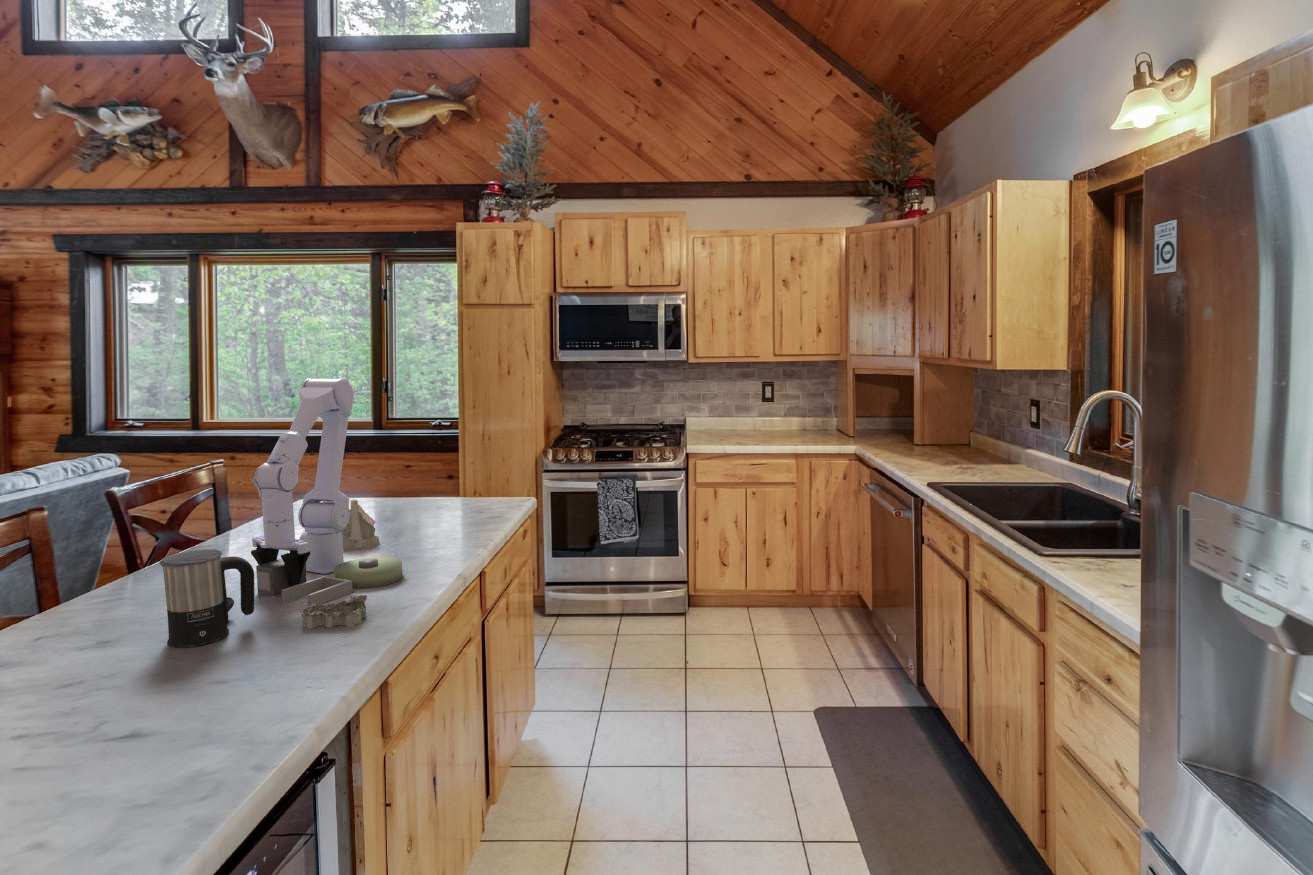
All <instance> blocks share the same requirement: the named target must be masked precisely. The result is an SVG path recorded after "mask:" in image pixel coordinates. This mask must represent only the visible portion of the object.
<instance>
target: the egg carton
mask: <svg viewBox="0 0 1313 875" xmlns="http://www.w3.org/2000/svg"><path fill="white" fill-rule="evenodd" d="M367 596H368V595H366V594H364V595H363V594H360V595H355V596H351V597H350V598H349V600H348V599H342V600H341V601H337V602H336V601H329V602H325V603H322V604H320V605H317V604H310V605H309V604H308V603H307V606H305V607H303V608H302V609H301V610H300V613H302V614H301V618H302V619H301V620H302V621H301V622H302V626H303V625H305V626H304V627H306V626H307V627H306V628H307V629H312V628H311V627H313V628H316V627H318V625H320V626H325V625H326V626H325V627H326V628H333V627H335V626H339V625H340V626H341V625H344V626H345V627H353V626H355V625H358V624H361V623H362V618H366V616H367V604H366V601H367V599H368V597H367ZM315 626H316V627H315Z"/></svg>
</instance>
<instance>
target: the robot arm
mask: <svg viewBox="0 0 1313 875" xmlns="http://www.w3.org/2000/svg"><path fill="white" fill-rule="evenodd" d="M298 394H299V401H300V403H299V406H298V409H297V411H296V413H295V416H294V418H293V421H292V424H291V426H290V429H289V431H288V432H285V433H284V432H283V433H282V434H280V436H279V437H278V440H277V442H276V444H275V446H274V448H273V450H272V451H271V453H270V456H269V457H268V459H267V461H266V462H264V463H263V464H261V465H259V466H258V467H257V469H256V471H255V473H254V477H253V478H252V479H253V484H254V486H255V488H256V489H257V491H258V497H259V499H261V506H262V508H261V509H262V522H263V524H262V525H263V526H262V527H263V535H258V536H255V537H252V538H251V543H252V547H254V548H255V549H252V550H251V551H250V554H251V556H252V557H253V559H254V560H255V562H256V563H257V566H258V565H261V564H265V563H268V562H272V561H275V560H278V555H279V551H287V553H284V554H280V559H282V560H283V562H284V564H285V567H286V570H287V576H288V583H289V586H291V587H292V586H295V585H298V584H300V581H301V577H302V572H303V569H304V566H305V563H306V572H311V573H316V574H323V575H326V574H327V575H328V574H331V573H334V568H335V567H336V566H337V565H339V564H341V563H343V562H345V561H344V558H345V556H344V550H343V537H342V530H344V529H345V527H346V526H347V524H348V522H349V519H350V511H349V509H350V498H349V497H348V496H347V495H346V494H345V493H343V491H341V489H340V486H341V478H342V470H343V463H344V455H345V449H346V448H345V446H346V440H347V432H348V424H349V417H351V415H352V410H353V404H354V395H355V391H354V390H353V387H352V385H351V383H350V382H349V380H348V379H346V378H312V377H311V378H306V379H304V381H303V382H302V383H301V387H300V389H299V391H298ZM319 417H320V418H321V420H322V422H323V423H322V431H321V439H320V445H319V452H318V458H317V465H316V466H317V468H316V475H315V481H314V488H312V489H311V490H310V491H308V492H307V493H306V494H305V495H303V499H302V504H301V506H300V508H299V509H298V510H299V511H298V514H297V516H298V517H297V519H298V523H299V524H300V526H301V528H303V529H304V531H303V532H302V533H301V534H300V536H299V538H297V537H296V535H295V534H296V533H295V517H294V515H295V514H294V513H295V512H294V498H293V489H295V487H296V485H297V484H298V482H299V472H300V466H299V465H300V462H301V461H302V458H303V457H304V454H305V452H306V450H307V448H308V445H309V444H308V441H307V440H306V438H307V436H308V434H309V433H310V431H311V429H312V428H313V426H314V425H315V423H316V422H317V420H318V418H319ZM323 501H333V502H334V503H324V502H323Z"/></svg>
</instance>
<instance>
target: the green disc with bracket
mask: <svg viewBox="0 0 1313 875" xmlns="http://www.w3.org/2000/svg"><path fill="white" fill-rule="evenodd" d="M333 574H334V576H333V577H332V576H326V575H322V576H319V577H317V578H314V579H311V580H308V581H307V582H304V583H301V584H298V585H295V586H292V587H289V588H286V589H283V590H281V593H282V594H281V602H282V603H283V604H284V603H285V604H286V603H288V602H291V601H294V600H297V599H300V598H303V597H306V599H307V605H308V604H309V605H310V604H317V605H318V606H319V605H320V604H325V603H329V602H331V601H333V600H335V599H338V598H340V597H343V596H346V595H348V594H352V593H353V590H356V589H357V590H358V589H371V588H378V587H384V586H387V585H389V584H394V583H395V582H397V581H399V580H401V579H402V578H403V561H402V560H401V559H399V558H397V557H396V558H395V557H390V556H372V557H371V556H370V557H361V558H355V559H350V560H347V561H344V562H343V563H341V564H339V565H337V566H336V567H335V568H334V572H333Z"/></svg>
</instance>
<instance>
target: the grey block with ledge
mask: <svg viewBox="0 0 1313 875" xmlns="http://www.w3.org/2000/svg"><path fill="white" fill-rule="evenodd" d="M255 568H256V570H255V571H256V584H257V595H263V596H268V597H273V596H275V597H277V596H282V593H281V590H283V589H286V588H289V587H291V586H289V583H288V576H287V570H286V567H285V564H284V562H283V560H282V558H279V559H277V560H275V561H272V562H268V563H265V564H261V565H258V564H257V565H256V566H255ZM307 580H308V578H307V571H306V563H305V566H304V569H303V572H302V577H301V581H300V584H301V583H304V582H307Z"/></svg>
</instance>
